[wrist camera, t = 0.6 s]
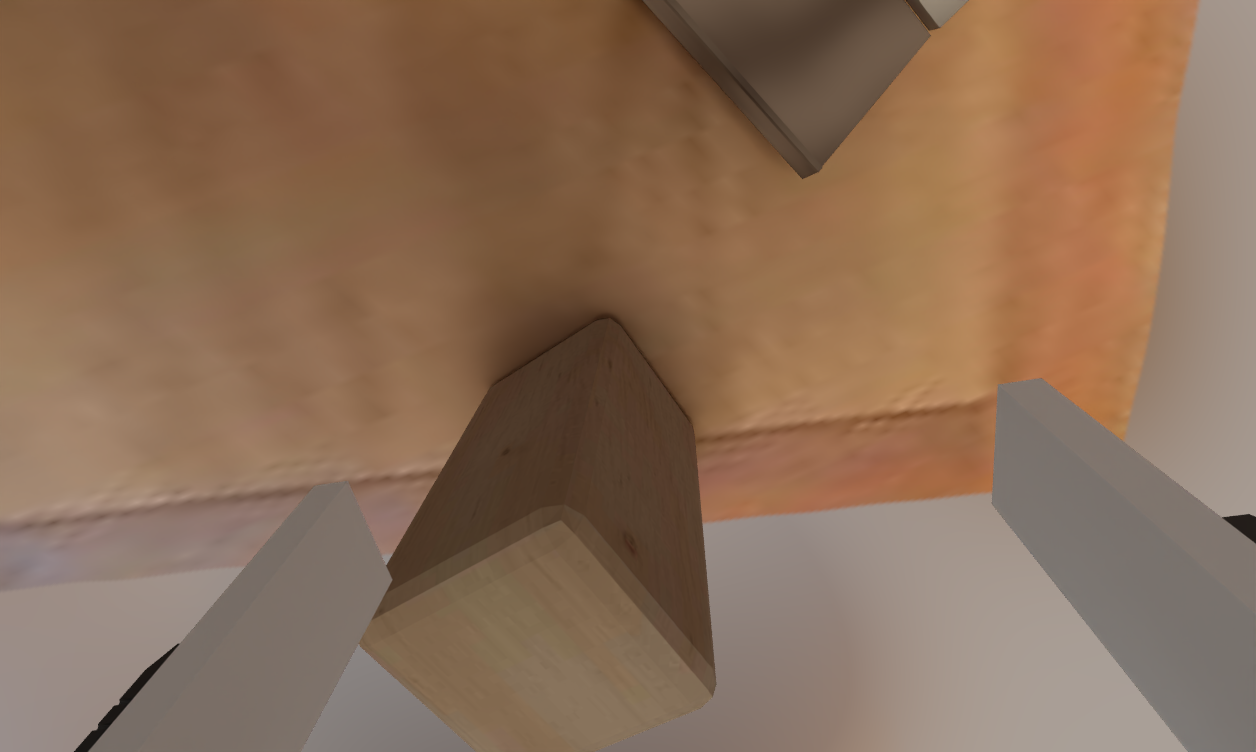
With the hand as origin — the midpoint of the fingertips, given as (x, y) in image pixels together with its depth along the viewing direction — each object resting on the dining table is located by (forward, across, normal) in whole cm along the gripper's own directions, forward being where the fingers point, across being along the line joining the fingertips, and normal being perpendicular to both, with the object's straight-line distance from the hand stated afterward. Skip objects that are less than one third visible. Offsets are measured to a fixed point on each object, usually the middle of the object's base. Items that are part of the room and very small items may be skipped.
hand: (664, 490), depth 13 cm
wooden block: (+25, -6, -10) cm, 28 cm away
